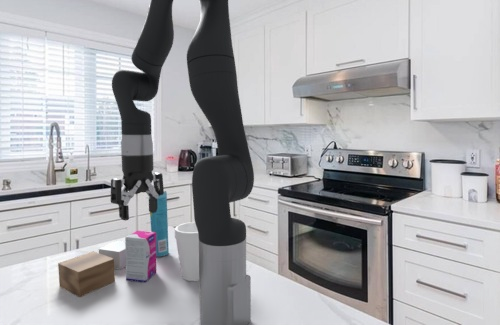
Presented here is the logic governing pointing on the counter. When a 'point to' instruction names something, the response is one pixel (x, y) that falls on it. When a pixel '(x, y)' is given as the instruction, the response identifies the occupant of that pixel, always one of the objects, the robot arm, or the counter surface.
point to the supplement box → (140, 256)
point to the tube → (160, 225)
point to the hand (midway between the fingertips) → (139, 215)
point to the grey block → (115, 253)
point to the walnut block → (86, 273)
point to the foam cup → (188, 250)
